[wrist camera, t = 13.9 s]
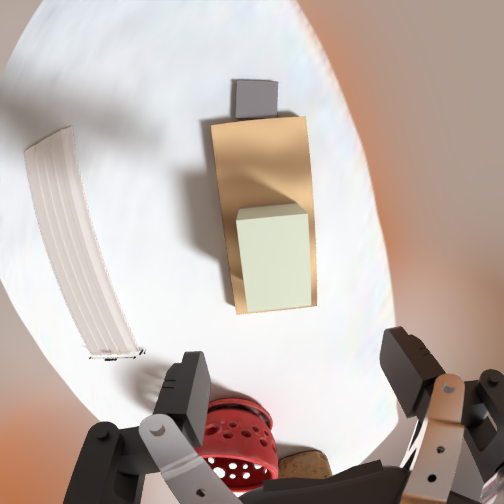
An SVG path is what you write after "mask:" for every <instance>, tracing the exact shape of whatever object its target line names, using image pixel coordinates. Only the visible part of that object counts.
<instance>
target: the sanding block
mask: <svg viewBox="0 0 504 504" xmlns="http://www.w3.org/2000/svg"><path fill="white" fill-rule="evenodd" d="M236 224H237V232H238V240H239V248H240V256H241V264H242V272H243V280H244V287H245V295H246V303H247V310H248V312H256V311H267V310H277V309H286V308H295V307H303V306H311V270H310V244H309V224H308V213H307V212H306V211H305V210H304V209H303V208H302V207H301V206H300V205H299V204H298V203H297V202H289V203H278V204H268V205H258V206H248V207H239V211H238V215H237V219H236Z"/></svg>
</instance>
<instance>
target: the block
mask: <svg viewBox="0 0 504 504" xmlns="http://www.w3.org/2000/svg"><path fill="white" fill-rule="evenodd" d="M331 476H332V472H331V469H330V465H329V462H328V459H327V457H326V455H325V454H323V453H320V452H319V451H308V452H302V453H298V454H296V455H294V456H289V457H286V458H283V459H282V460H280V461H278V478H277V479H281V478H291V477H296V478H311V479H326V478H329V477H331Z"/></svg>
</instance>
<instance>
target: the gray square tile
mask: <svg viewBox="0 0 504 504" xmlns="http://www.w3.org/2000/svg"><path fill="white" fill-rule="evenodd" d="M277 97H278V82H274V81H250V80H237V92H236V116H235V118H236V119H270V118H277Z"/></svg>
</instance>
